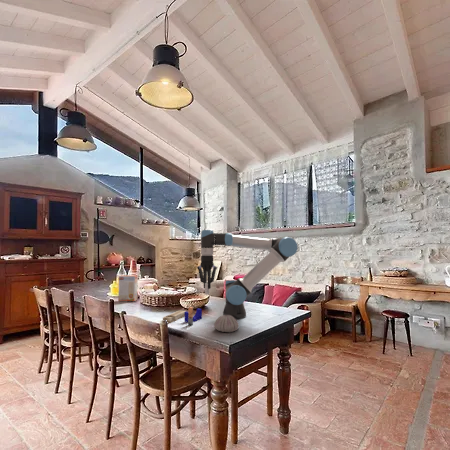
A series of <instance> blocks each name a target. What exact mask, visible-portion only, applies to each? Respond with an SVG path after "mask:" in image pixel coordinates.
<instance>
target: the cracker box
mask: <svg viewBox="0 0 450 450" xmlns="http://www.w3.org/2000/svg"><path fill="white" fill-rule="evenodd" d="M138 280H139V279H138V275H126V274H125V275H119V276H118V302H119V301H135V302H137V301H138ZM136 300H137V301H136Z"/></svg>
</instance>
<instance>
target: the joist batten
mask: <svg viewBox="0 0 450 450" xmlns="http://www.w3.org/2000/svg"><path fill="white" fill-rule="evenodd" d="M185 312H186V310H181V309H180V310H177V311H175V312H172V313H170V314H168V315H165V316H163V317H162V321H163V320H167V322H168V323H167V324H172V323H174V322H176V321H178V320H181V319H182V318H185Z"/></svg>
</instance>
